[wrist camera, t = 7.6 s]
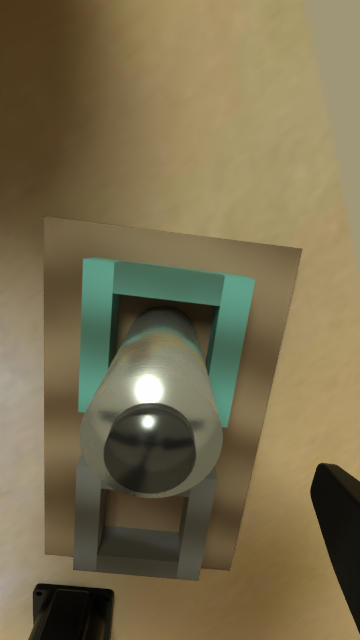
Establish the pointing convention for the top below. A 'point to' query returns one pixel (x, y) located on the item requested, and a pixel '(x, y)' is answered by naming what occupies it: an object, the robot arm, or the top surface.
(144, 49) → the top surface
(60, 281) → the dock plate
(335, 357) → the top surface
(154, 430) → the steel pin
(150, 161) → the top surface
